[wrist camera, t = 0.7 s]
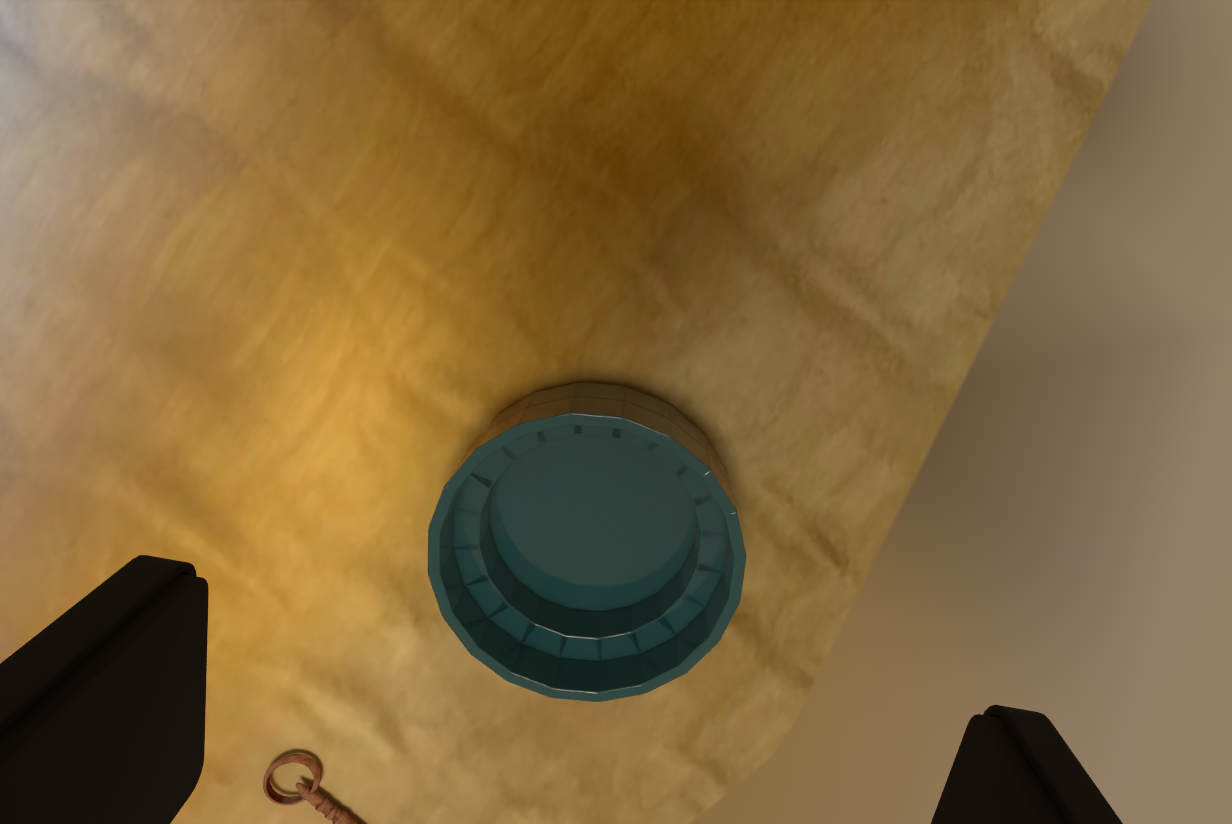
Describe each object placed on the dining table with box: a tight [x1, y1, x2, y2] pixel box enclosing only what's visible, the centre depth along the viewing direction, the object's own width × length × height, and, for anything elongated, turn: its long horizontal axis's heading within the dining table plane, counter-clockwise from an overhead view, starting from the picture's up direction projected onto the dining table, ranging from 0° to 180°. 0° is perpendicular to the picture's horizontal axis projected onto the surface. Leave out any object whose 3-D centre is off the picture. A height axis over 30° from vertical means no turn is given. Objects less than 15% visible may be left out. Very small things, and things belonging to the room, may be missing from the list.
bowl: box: [428, 382, 746, 702], centre depth 42 cm, size 15×15×6 cm
